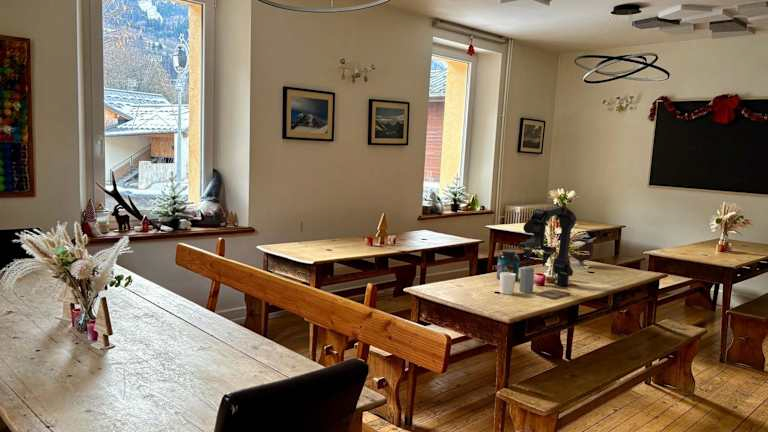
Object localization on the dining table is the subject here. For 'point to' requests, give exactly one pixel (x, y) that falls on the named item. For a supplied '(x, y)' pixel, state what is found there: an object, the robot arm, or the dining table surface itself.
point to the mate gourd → (586, 247)
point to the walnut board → (552, 294)
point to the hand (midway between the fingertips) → (535, 264)
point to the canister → (526, 279)
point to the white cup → (507, 283)
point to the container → (508, 263)
